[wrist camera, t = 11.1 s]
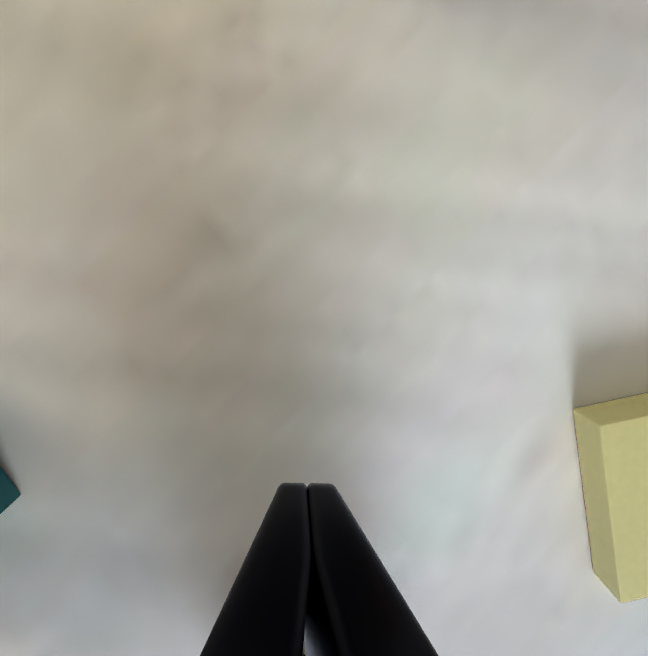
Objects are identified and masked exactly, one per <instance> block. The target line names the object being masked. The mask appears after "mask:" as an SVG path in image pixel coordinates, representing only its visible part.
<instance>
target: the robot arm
mask: <svg viewBox="0 0 648 656" xmlns="http://www.w3.org/2000/svg"><path fill="white" fill-rule="evenodd" d="M304 642H305V652H306V655H302V653H303V643H304ZM200 656H438V654H437V652H436V651H435V649H434V648H433V646H432V644H431V643H430V641H429V639H428V638H427V636H426V634H425V633H424V631H423V630H422V628H421V626H420V625H419V623H418V621H417V620H416V618H415V616H414V615H413V613H412V611H411V610H410V608H409V607H408V605H407V603H406V602H405V600H404V598H403V597H402V595H401V593H400V592H399V590H398V589H397V587H396V585H395V584H394V582H393V580H392V579H391V577H390V575H389V574H388V572H387V571H386V569H385V567H384V566H383V564H382V562H381V561H380V559H379V557H378V556H377V554H376V553H375V551H374V549H373V548H372V546H371V544H370V543H369V541H368V539H367V538H366V536H365V535H364V533H363V531H362V530H361V528H360V526H359V525H358V523H357V521H356V520H355V518H354V517H353V515H352V513H351V512H350V510H349V508H348V507H347V505H346V503H345V502H344V500H343V499H342V497H341V495H340V494H339V492H338V490H337V489H336V487H335V486H334V485H332V484H325V483H311V484H309V485H308V486H307V487H306V485H305V484H304V483H282V484H281V485H280V486H279V487H278V489H277V491H276V494H275V496H274V498H273V500H272V502H271V504H270V507H269V509H268V511H267V513H266V515H265V517H264V519H263V522H262V524H261V526H260V528H259V530H258V532H257V534H256V537H255V539H254V541H253V543H252V545H251V547H250V549H249V552H248V554H247V556H246V558H245V560H244V562H243V565H242V567H241V569H240V571H239V573H238V575H237V577H236V580H235V582H234V584H233V586H232V588H231V590H230V592H229V595H228V597H227V599H226V601H225V603H224V605H223V607H222V610H221V612H220V614H219V616H218V618H217V620H216V623H215V625H214V627H213V629H212V631H211V633H210V635H209V638H208V640H207V642H206V644H205V646H204V648H203V650H202V653H201V655H200Z"/></svg>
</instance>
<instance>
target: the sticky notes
mask: <svg viewBox="0 0 648 656" xmlns="http://www.w3.org/2000/svg"><path fill="white" fill-rule="evenodd" d="M573 413H574V421H575V429H576V437H577V445H578V453H579V460H580V468H581V476H582V484H583V492H584V500H585V508H586V516H587V523H588V531H589V539H590V547H591V555H592V563H593V571H594V573H595V574H596V576H597V577H598V578H599V579H600V580H601V581H602V582H603V584H604V585H605V586H606V587H607V588H608V589H609V590H610V591H611V593H612V594H613V595H614V596H615V597H616V598H617V599H618V601H619V602H620V603H623V602H628V601H632V600H637V599H641V598H646V597H648V393H644V394H640V395H635V396H630V397H626V398H621V399H616V400H612V401H607V402H602V403H598V404H593V405H588V406H584V407H579V408H575V409H573Z"/></svg>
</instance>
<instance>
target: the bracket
mask: <svg viewBox="0 0 648 656" xmlns="http://www.w3.org/2000/svg"><path fill="white" fill-rule="evenodd" d="M20 495H21V494H20V493H19V491H18V490H17V489H16V487H15V486H14V485H13V483H12V482H11V481H10V479H9V478H8V477H7V475H6V474H5V473H4V471H3V470H2V469H1V467H0V514H1V513H2V512H3V511H4V510H5V509H6V508H7V507H8V506H9V505H10V504H11V503H13V502H14V501H15V500H16V499H17V498H18V497H19V496H20Z"/></svg>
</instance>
